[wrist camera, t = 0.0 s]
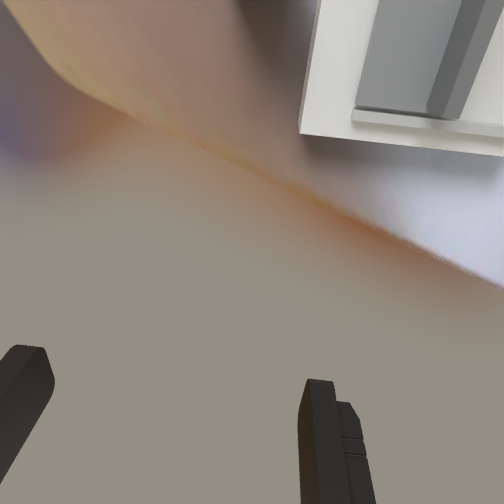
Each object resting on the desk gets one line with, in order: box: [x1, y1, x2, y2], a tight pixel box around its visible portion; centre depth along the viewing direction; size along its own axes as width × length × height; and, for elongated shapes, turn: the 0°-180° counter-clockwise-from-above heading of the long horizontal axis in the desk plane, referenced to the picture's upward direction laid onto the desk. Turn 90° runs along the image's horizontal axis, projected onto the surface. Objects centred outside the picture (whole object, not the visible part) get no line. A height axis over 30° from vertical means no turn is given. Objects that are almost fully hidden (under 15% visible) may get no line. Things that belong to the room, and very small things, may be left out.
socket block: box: [298, 0, 504, 157], centre depth 29 cm, size 14×19×5 cm
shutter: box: [355, 0, 504, 119], centre depth 26 cm, size 8×8×4 cm
